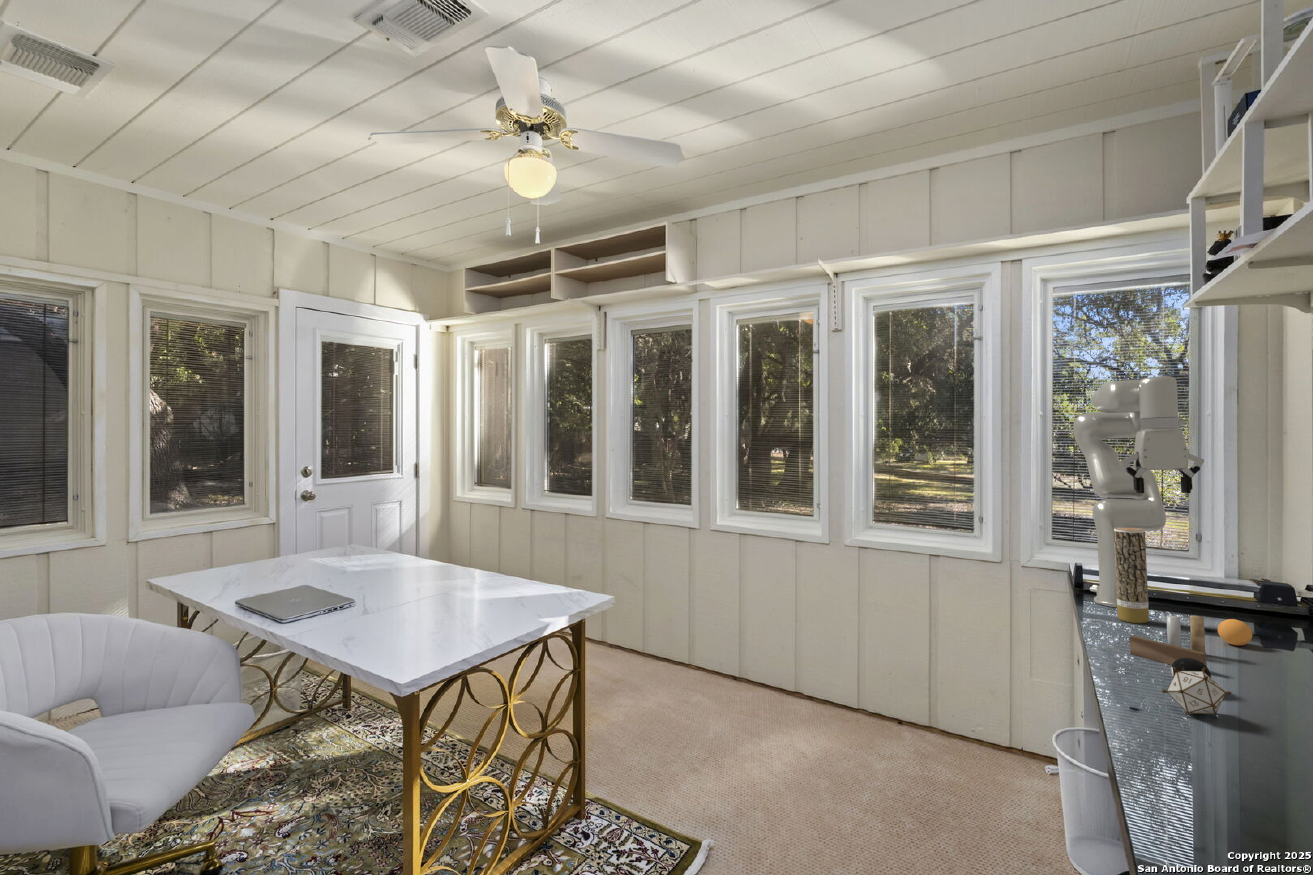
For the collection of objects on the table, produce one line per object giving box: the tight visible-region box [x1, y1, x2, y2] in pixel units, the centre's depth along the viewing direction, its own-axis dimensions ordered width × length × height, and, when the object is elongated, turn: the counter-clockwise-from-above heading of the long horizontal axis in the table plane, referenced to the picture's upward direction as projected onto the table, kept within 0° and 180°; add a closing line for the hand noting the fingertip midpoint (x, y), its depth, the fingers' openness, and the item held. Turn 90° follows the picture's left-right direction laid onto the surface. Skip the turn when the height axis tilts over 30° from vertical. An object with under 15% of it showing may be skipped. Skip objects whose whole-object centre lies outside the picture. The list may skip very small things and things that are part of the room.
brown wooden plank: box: [1129, 635, 1208, 667], centre depth 136 cm, size 2×14×4 cm, turn 23°
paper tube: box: [1114, 528, 1150, 624], centre depth 168 cm, size 7×7×25 cm
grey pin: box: [1166, 615, 1182, 647], centre depth 142 cm, size 2×2×8 cm
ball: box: [1217, 618, 1253, 646], centre depth 147 cm, size 6×6×6 cm
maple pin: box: [1189, 615, 1206, 653], centre depth 141 cm, size 2×2×8 cm
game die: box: [1160, 667, 1233, 716], centre depth 111 cm, size 9×8×10 cm
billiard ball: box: [1170, 658, 1212, 679], centre depth 122 cm, size 6×6×6 cm
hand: (1162, 493), depth 156 cm, fingers open, 9 cm apart
